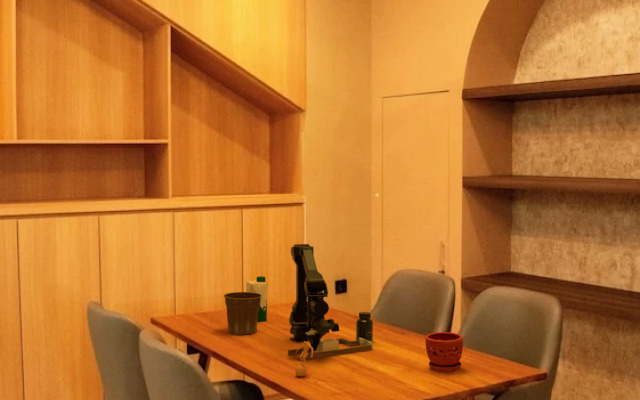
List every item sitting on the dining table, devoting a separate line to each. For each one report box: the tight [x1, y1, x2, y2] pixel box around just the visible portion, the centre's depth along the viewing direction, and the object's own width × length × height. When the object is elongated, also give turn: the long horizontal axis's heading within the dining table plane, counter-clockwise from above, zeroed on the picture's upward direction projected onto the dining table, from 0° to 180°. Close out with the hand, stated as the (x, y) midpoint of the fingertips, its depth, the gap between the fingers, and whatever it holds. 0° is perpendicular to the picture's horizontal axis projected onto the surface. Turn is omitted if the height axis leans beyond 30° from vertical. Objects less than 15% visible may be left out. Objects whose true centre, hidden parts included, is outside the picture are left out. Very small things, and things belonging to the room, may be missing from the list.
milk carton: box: [245, 275, 268, 323], centre depth 355 cm, size 9×9×20 cm
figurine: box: [295, 341, 314, 378], centre depth 267 cm, size 8×6×12 cm
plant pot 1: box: [223, 291, 262, 336], centre depth 332 cm, size 16×16×16 cm
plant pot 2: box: [425, 331, 464, 373], centre depth 276 cm, size 13×13×12 cm
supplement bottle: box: [355, 311, 374, 342], centre depth 315 cm, size 7×7×12 cm
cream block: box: [315, 337, 340, 353], centre depth 298 cm, size 5×7×5 cm
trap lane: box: [287, 338, 374, 362], centre depth 301 cm, size 15×33×3 cm, turn 120°
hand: (314, 351), depth 295 cm, fingers closed
